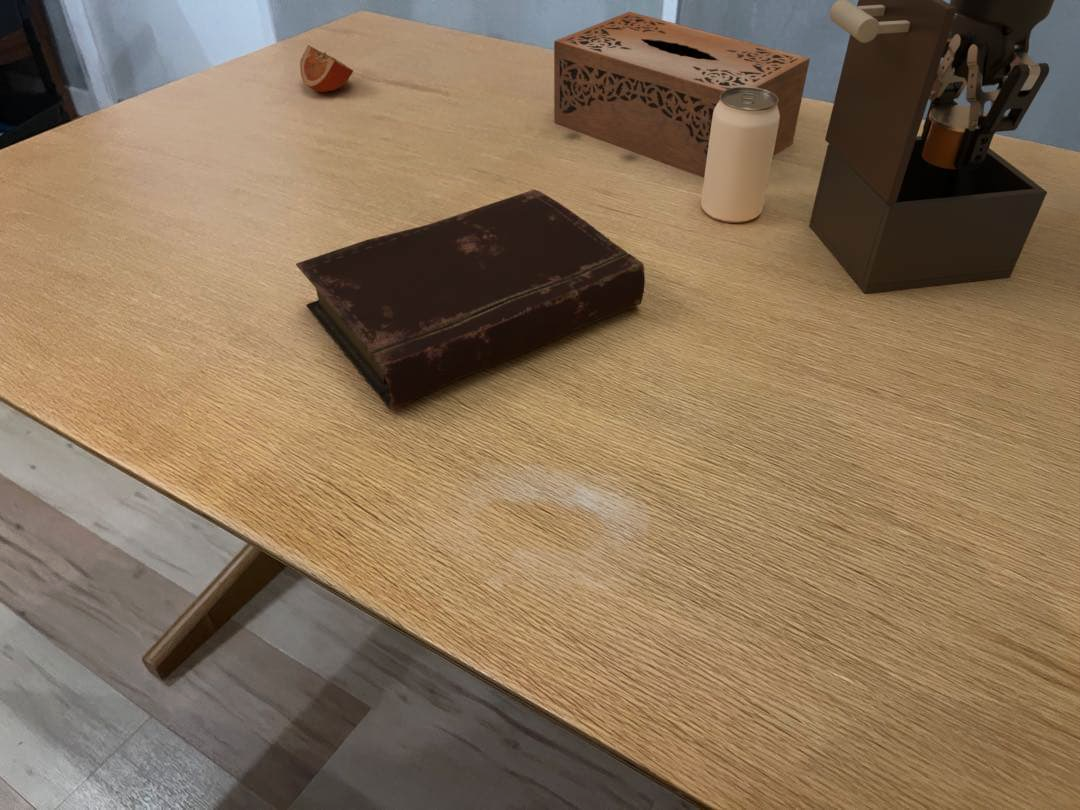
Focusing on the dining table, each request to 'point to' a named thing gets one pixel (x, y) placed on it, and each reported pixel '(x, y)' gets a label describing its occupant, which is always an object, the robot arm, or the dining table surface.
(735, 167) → the can
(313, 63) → the fruit slice
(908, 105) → the lid
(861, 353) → the dining table surface
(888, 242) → the dark brown storage bin
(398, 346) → the diary
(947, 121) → the cylinder
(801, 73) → the tissue box cover
